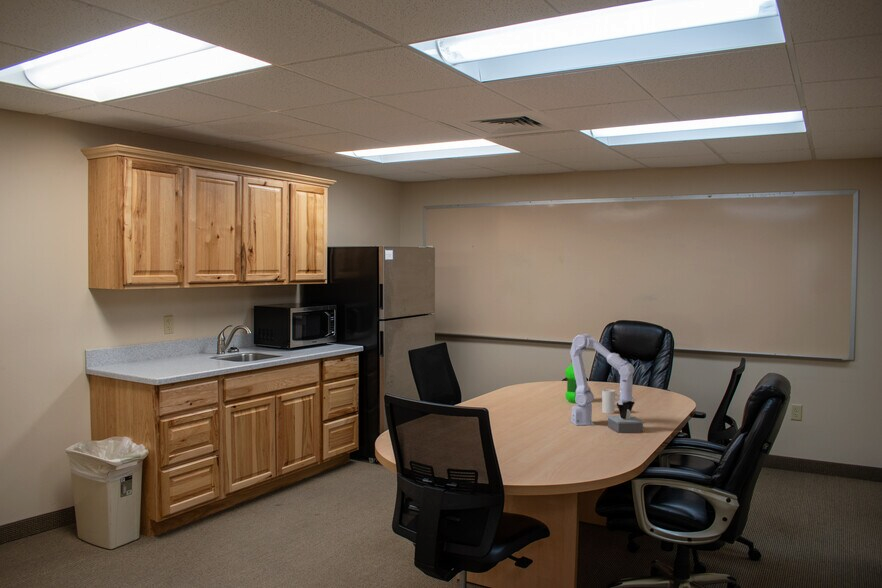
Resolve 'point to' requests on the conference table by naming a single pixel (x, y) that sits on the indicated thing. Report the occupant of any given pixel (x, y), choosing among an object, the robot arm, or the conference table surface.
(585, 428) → the conference table surface
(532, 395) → the conference table surface
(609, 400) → the mug
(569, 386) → the plastic bottle
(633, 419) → the bin lid
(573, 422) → the robot arm
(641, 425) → the bin
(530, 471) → the conference table surface
